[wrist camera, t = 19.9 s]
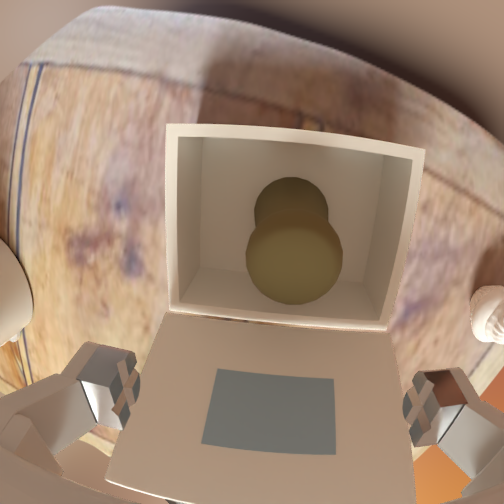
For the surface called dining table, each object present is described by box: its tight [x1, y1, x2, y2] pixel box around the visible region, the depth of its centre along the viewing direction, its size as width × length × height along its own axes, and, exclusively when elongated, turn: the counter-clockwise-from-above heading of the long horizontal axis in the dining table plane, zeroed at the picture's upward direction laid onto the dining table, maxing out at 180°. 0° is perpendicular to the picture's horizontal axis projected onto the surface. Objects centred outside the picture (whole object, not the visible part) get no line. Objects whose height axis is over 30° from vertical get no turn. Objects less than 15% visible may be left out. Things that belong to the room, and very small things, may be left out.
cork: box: [245, 177, 343, 305], centre depth 21 cm, size 6×6×11 cm
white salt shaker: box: [470, 285, 504, 344], centre depth 24 cm, size 6×6×7 cm
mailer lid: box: [104, 312, 416, 504], centre depth 17 cm, size 16×13×1 cm
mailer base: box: [165, 124, 425, 330], centre depth 23 cm, size 16×13×7 cm
